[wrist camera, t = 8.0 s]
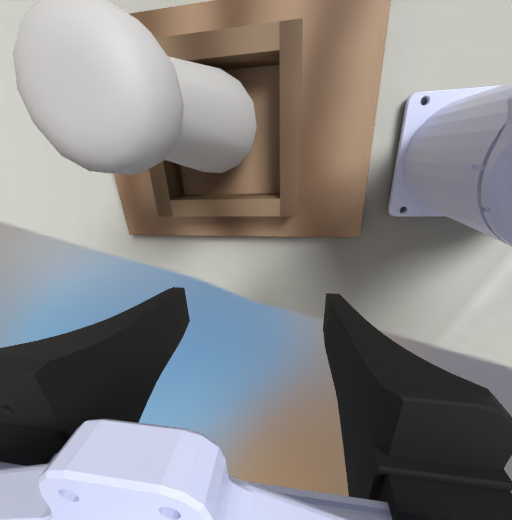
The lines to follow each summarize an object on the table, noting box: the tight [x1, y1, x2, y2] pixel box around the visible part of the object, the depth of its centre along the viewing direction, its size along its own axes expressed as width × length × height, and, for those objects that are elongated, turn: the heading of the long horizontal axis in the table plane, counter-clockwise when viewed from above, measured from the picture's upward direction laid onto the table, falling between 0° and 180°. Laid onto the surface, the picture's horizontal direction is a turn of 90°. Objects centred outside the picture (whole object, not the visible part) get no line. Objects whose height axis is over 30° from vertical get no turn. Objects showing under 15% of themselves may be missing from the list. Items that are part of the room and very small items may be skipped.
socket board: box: [114, 0, 391, 238], centre depth 17 cm, size 20×15×4 cm
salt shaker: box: [13, 0, 257, 175], centre depth 12 cm, size 6×6×13 cm
